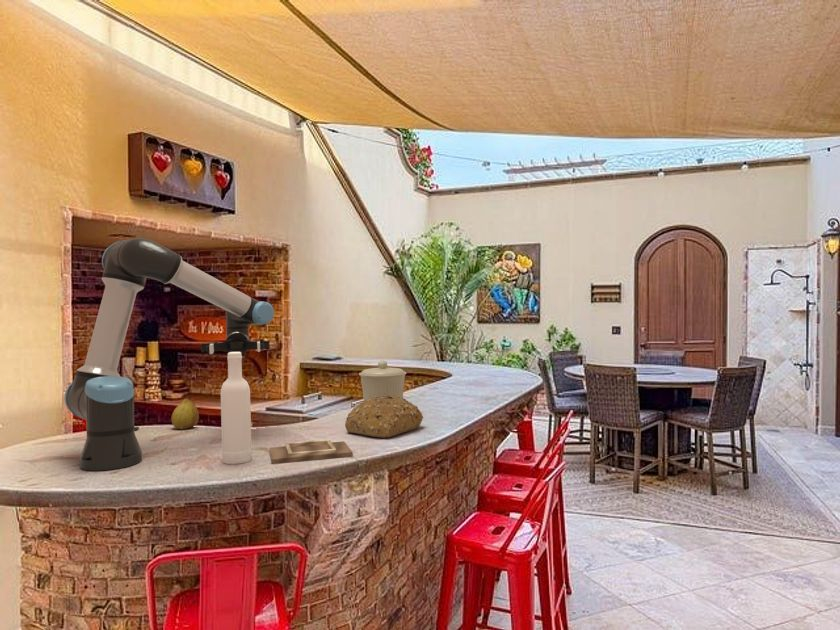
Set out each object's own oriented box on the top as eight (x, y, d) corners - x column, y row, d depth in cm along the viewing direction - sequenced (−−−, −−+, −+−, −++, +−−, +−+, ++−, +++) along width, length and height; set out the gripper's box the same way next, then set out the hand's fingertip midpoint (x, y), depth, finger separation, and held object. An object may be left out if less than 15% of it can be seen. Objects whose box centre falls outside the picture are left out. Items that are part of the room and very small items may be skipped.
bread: (378, 421, 213) (378, 389, 213) (428, 427, 202) (428, 392, 202) (335, 435, 193) (334, 398, 192) (388, 442, 181) (388, 403, 181)
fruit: (166, 430, 204) (165, 396, 204) (182, 425, 213) (182, 392, 213) (188, 431, 202) (187, 396, 202) (204, 425, 211) (203, 392, 211)
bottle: (216, 461, 161) (213, 352, 161) (240, 455, 167) (237, 350, 167) (233, 466, 156) (231, 353, 156) (257, 459, 163) (255, 351, 162)
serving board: (271, 463, 158) (271, 455, 158) (269, 451, 171) (269, 444, 171) (352, 456, 164) (352, 448, 164) (344, 445, 177) (344, 438, 177)
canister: (362, 411, 233) (361, 358, 233) (407, 411, 233) (406, 358, 233) (357, 420, 215) (356, 363, 215) (406, 420, 215) (405, 362, 215)
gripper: (276, 353, 198) (278, 358, 177) (197, 356, 191) (190, 363, 171) (275, 330, 198) (277, 334, 177) (196, 334, 191) (189, 337, 171)
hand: (235, 348), depth 174 cm, fingers open, 13 cm apart
